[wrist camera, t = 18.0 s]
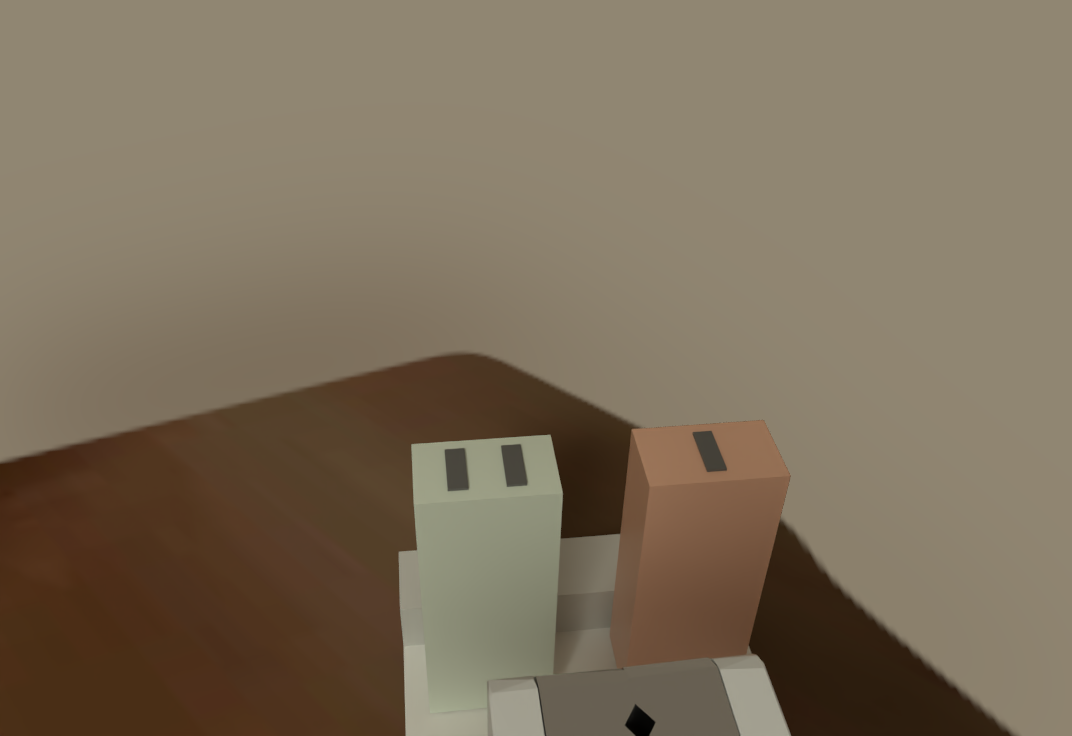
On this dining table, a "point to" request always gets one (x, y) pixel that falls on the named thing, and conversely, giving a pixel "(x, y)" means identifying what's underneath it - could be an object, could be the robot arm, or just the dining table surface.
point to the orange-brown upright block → (695, 540)
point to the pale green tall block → (486, 563)
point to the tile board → (477, 718)
